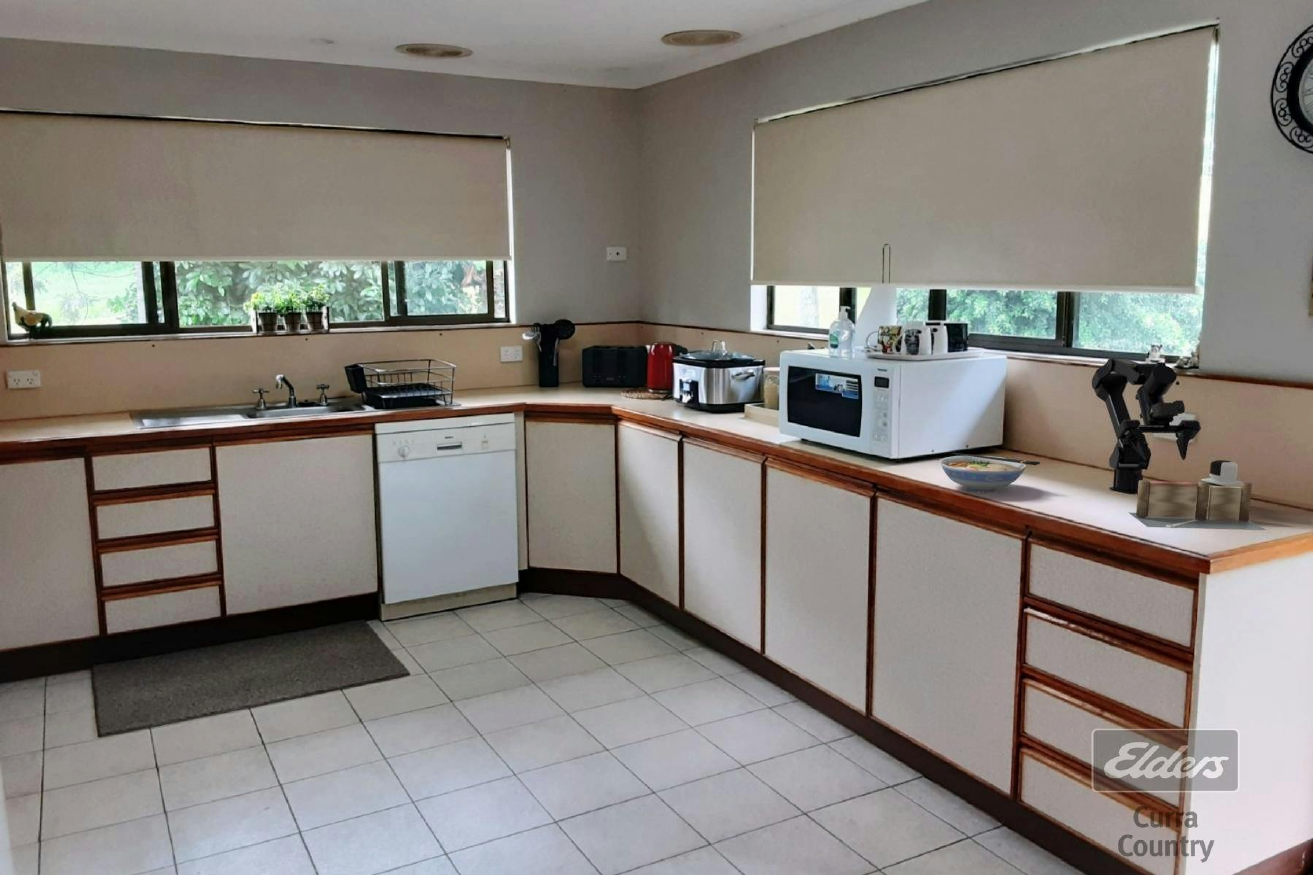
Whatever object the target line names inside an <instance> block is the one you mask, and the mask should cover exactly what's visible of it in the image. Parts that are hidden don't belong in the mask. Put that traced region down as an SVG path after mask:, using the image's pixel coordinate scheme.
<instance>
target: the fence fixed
mask: <svg viewBox="0 0 1313 875" xmlns="http://www.w3.org/2000/svg"><path fill="white" fill-rule="evenodd" d="M1197 484H1198V485H1197V493H1196V505H1195V519H1197V520H1206V517H1207V519H1209V520H1230V521H1249V519H1250V509H1251V508H1250V507H1251V499H1252V498H1251V497H1252V486H1253V483H1251V482H1246V481H1242V482H1241V483H1240V487H1231V486H1210V489H1209V482H1204V481H1201V480H1200V481H1197ZM1208 494H1209V501H1208ZM1207 505H1208V507H1207Z"/></svg>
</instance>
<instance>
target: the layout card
mask: <svg viewBox="0 0 1313 875" xmlns="http://www.w3.org/2000/svg"><path fill="white" fill-rule="evenodd" d="M1128 514H1129V515H1131V517H1134V519H1136V520H1138V521H1139V522H1140V523H1141V524H1143V525H1144V526H1146V527H1147V528H1169V529H1171V528H1172V529H1174V528H1175V529H1206V530H1207V529H1210V530H1214V529H1215V530H1246V531H1249V530H1250V531H1254V530H1255V531H1267V529H1266V528H1265V527H1262V526H1260V525H1258V524H1257V523H1256V522H1253V521H1251V519H1250V520H1249V521H1230V520H1209V519H1207V517H1206V520H1197V519H1195V517H1194V518H1175V517H1138V516H1136V512H1128Z"/></svg>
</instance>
